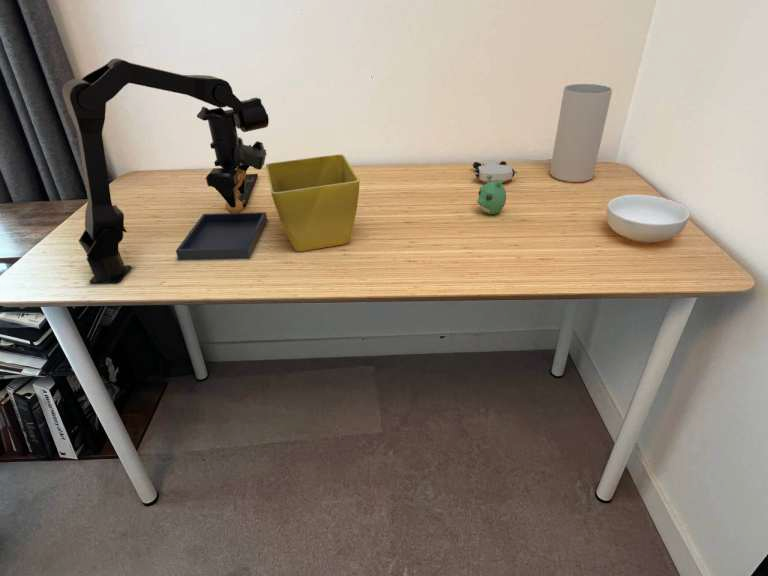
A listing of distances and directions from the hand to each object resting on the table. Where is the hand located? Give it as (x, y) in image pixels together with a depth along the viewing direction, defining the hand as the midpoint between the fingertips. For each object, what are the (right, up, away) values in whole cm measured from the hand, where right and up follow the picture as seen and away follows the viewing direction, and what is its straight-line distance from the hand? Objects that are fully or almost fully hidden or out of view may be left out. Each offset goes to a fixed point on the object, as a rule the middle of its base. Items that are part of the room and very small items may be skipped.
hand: (238, 200), depth 118 cm
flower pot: (+20, -9, 0) cm, 22 cm away
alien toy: (+64, -2, +8) cm, 64 cm away
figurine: (0, -3, +2) cm, 4 cm away
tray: (-3, -10, +1) cm, 10 cm away
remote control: (-6, +6, +25) cm, 26 cm away
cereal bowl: (+97, -9, -4) cm, 97 cm away
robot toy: (+69, +12, +29) cm, 76 cm away
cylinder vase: (+93, +12, +28) cm, 98 cm away
